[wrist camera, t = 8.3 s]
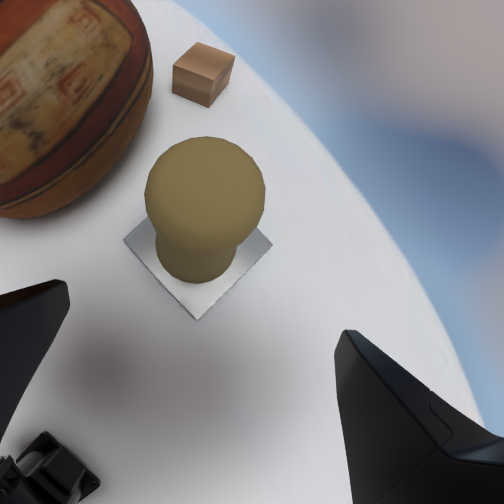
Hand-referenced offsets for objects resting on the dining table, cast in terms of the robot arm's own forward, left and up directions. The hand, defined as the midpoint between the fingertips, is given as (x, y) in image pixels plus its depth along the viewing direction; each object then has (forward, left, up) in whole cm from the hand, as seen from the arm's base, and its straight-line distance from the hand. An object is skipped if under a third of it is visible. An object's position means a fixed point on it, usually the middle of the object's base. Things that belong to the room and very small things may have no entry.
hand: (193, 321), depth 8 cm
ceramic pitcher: (+1, +21, -13) cm, 25 cm away
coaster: (+4, +3, -13) cm, 14 cm away
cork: (+4, +3, -12) cm, 14 cm away
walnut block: (+15, +15, -13) cm, 25 cm away
